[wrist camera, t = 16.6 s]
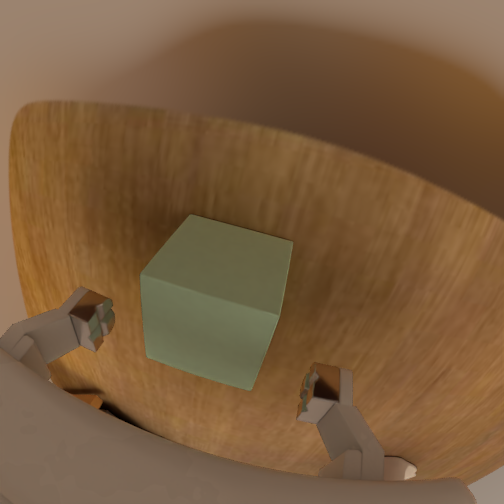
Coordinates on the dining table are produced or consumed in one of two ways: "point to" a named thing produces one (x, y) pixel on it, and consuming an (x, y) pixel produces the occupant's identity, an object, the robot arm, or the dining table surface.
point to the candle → (398, 469)
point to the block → (214, 300)
